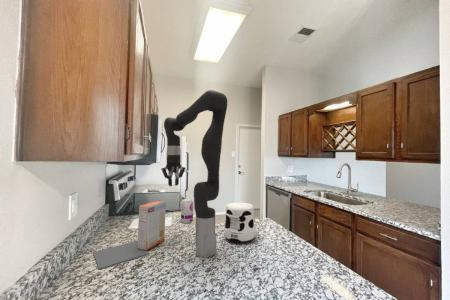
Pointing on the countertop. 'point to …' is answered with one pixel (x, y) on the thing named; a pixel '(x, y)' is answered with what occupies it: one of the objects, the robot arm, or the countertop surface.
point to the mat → (118, 254)
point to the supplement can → (187, 211)
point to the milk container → (239, 222)
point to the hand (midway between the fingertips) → (173, 185)
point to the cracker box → (151, 224)
